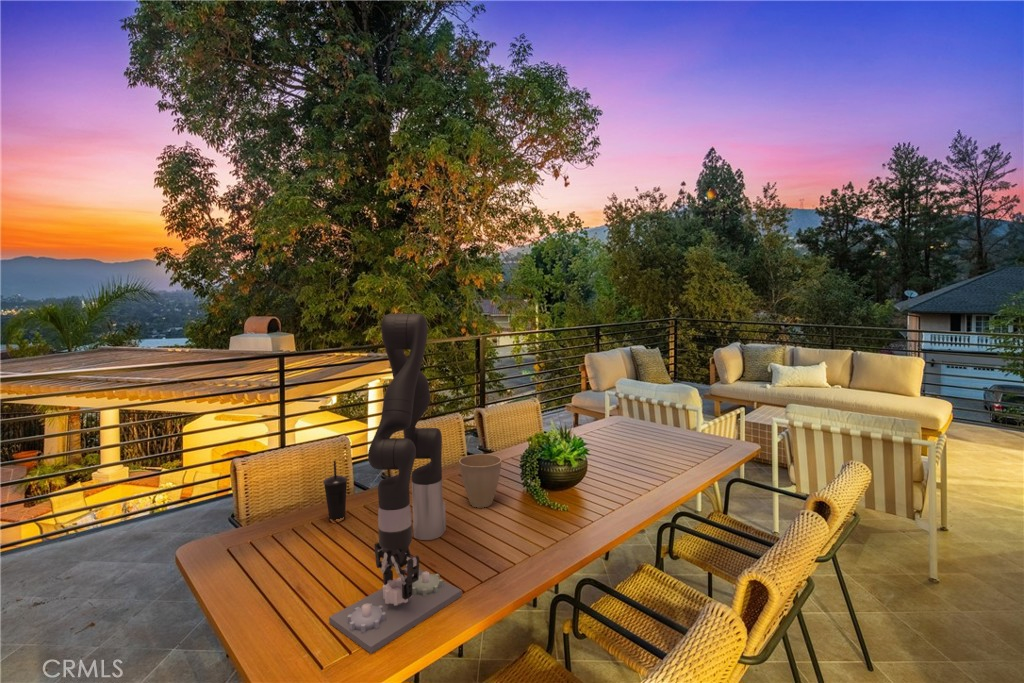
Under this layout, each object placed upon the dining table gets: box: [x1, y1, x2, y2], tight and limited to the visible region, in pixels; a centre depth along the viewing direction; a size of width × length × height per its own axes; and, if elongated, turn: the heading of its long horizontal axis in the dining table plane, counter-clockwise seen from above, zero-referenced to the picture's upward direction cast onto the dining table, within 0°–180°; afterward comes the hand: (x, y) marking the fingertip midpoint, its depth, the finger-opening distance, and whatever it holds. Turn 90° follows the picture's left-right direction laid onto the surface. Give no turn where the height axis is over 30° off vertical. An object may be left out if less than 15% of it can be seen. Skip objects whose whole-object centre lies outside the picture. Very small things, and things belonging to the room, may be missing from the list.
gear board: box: [328, 568, 463, 655], centre depth 119 cm, size 26×16×5 cm, turn 140°
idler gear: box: [382, 576, 412, 606], centre depth 119 cm, size 6×6×3 cm
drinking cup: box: [322, 460, 349, 520], centre depth 168 cm, size 8×8×20 cm
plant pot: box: [458, 453, 503, 509], centre depth 179 cm, size 15×15×16 cm
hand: (397, 592), depth 119 cm, fingers closed on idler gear, 6 cm apart
